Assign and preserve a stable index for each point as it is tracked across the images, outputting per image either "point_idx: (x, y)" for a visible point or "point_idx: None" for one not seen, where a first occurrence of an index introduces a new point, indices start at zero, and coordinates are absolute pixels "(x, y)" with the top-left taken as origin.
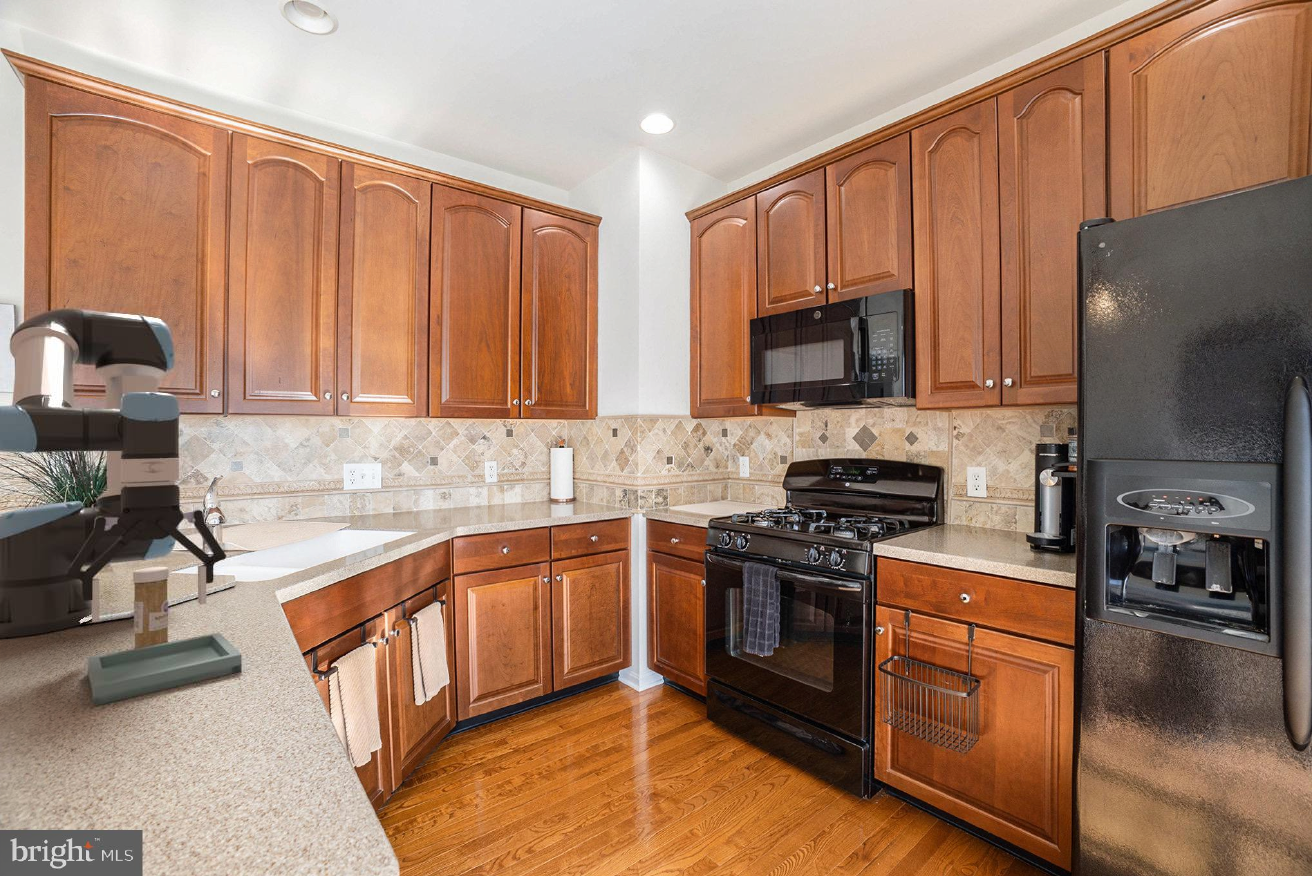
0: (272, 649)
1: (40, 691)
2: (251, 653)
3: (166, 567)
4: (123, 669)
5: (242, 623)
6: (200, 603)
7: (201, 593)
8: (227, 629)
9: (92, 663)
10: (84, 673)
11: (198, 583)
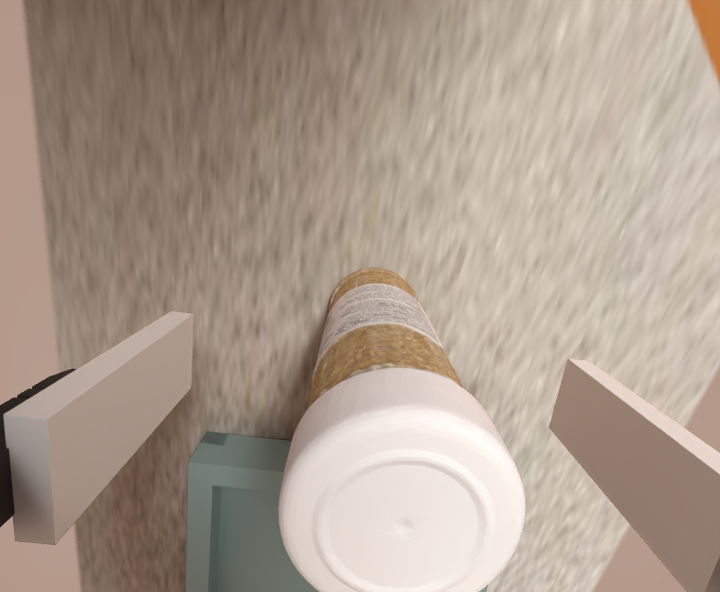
0: (559, 582)
1: (118, 472)
2: (515, 573)
3: (510, 546)
4: (263, 526)
5: (679, 225)
6: (554, 418)
7: (580, 462)
8: (607, 268)
9: (193, 527)
10: (202, 407)
11: (628, 426)
